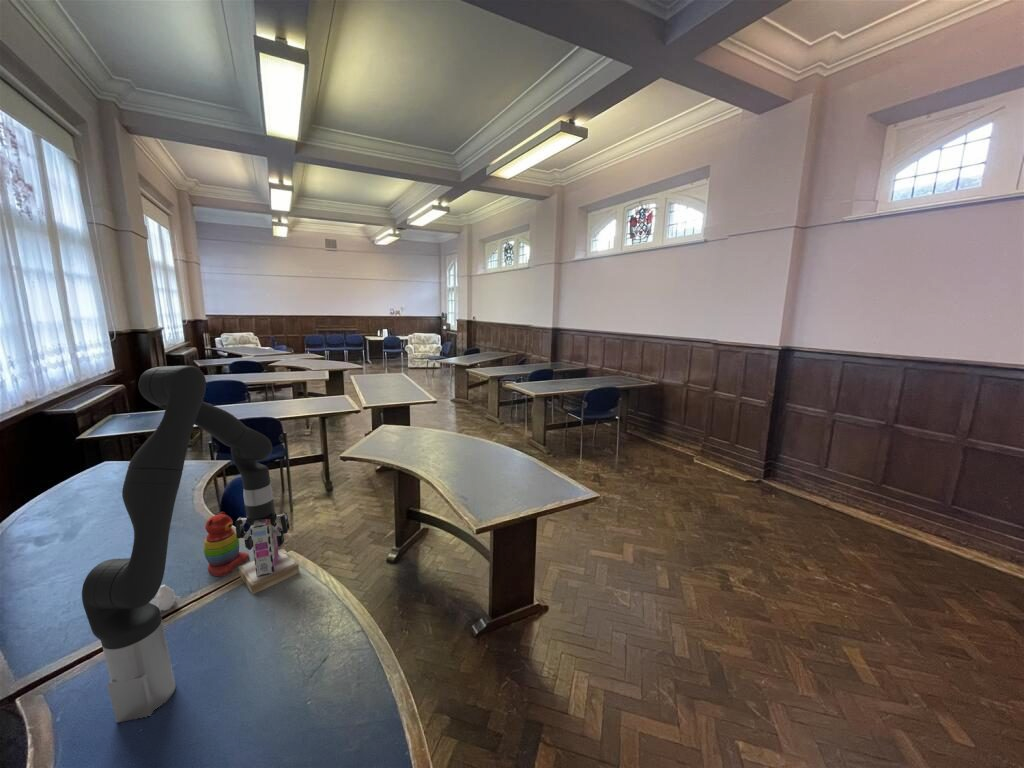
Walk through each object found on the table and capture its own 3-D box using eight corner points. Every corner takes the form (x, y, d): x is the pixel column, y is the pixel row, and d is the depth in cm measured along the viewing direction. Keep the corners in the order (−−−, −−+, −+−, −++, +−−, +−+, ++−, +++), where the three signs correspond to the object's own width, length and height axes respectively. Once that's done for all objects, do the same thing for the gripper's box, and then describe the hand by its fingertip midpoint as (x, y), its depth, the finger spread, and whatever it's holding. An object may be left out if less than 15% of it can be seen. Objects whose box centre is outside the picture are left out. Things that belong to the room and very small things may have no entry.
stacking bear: (224, 577, 126) (215, 526, 122) (197, 573, 128) (188, 523, 124) (252, 556, 136) (245, 508, 133) (227, 553, 138) (219, 506, 135)
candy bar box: (275, 573, 123) (268, 524, 119) (256, 577, 121) (248, 528, 117) (279, 553, 133) (273, 507, 129) (262, 556, 131) (255, 510, 127)
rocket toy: (158, 618, 110) (152, 593, 108) (151, 610, 113) (146, 585, 111) (182, 606, 114) (177, 581, 112) (175, 598, 117) (170, 574, 115)
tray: (299, 572, 128) (298, 563, 127) (253, 594, 118) (251, 584, 118) (284, 556, 136) (282, 547, 136) (239, 575, 127) (238, 566, 126)
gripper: (227, 507, 117) (234, 557, 120) (279, 502, 120) (286, 551, 123) (238, 495, 124) (245, 542, 128) (288, 491, 127) (294, 537, 130)
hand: (265, 546), depth 125 cm, fingers open, 8 cm apart
